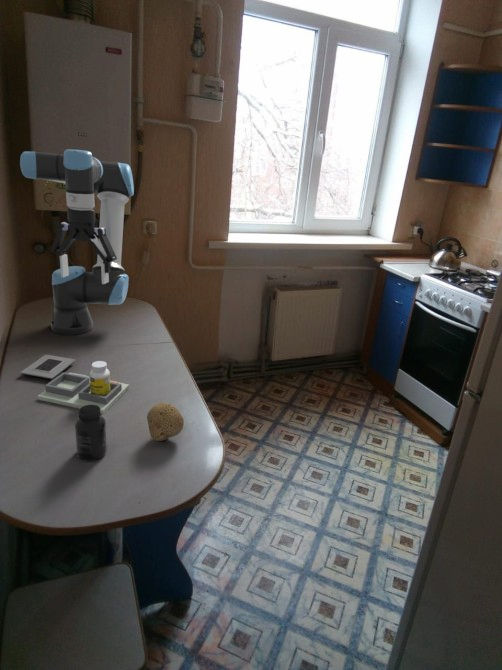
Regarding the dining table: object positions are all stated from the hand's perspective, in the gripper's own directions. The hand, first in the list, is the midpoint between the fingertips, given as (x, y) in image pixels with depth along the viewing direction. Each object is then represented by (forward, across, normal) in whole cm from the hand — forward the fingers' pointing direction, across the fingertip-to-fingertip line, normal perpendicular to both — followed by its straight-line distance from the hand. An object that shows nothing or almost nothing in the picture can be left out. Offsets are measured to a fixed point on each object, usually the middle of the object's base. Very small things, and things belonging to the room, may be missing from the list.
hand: (85, 279), depth 137 cm
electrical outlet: (+29, -9, -9) cm, 32 cm away
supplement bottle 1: (+28, +14, -18) cm, 36 cm away
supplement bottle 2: (+29, +25, -40) cm, 55 cm away
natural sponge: (+29, +39, -29) cm, 57 cm away
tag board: (+29, +9, -17) cm, 35 cm away
